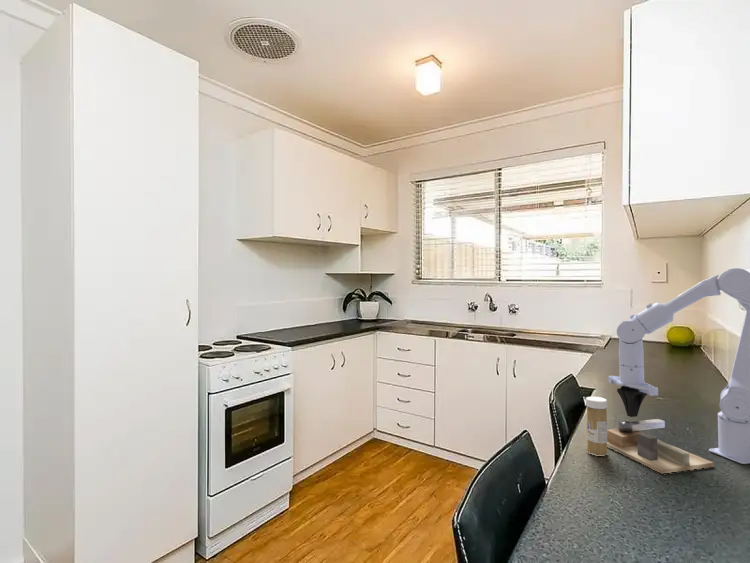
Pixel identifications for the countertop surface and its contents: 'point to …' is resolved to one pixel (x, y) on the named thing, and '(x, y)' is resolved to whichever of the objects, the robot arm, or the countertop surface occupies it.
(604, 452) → the sprinkles bottle
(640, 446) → the wooden base plank
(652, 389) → the robot arm
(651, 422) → the bar
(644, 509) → the countertop surface
